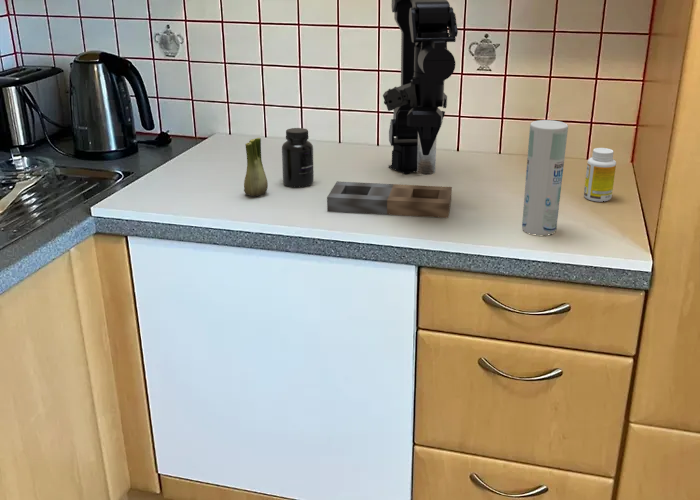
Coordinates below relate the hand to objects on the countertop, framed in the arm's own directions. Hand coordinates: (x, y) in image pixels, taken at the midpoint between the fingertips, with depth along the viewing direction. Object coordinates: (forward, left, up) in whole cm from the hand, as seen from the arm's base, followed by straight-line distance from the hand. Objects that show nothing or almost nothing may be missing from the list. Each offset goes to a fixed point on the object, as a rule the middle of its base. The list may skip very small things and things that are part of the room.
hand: (426, 152), depth 147 cm
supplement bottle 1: (+12, -29, -12) cm, 33 cm away
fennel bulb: (+23, -28, -12) cm, 38 cm away
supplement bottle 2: (-33, +16, -12) cm, 38 cm away
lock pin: (0, 0, -4) cm, 4 cm away
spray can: (-10, +21, -12) cm, 26 cm away
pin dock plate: (+5, -5, -12) cm, 14 cm away
